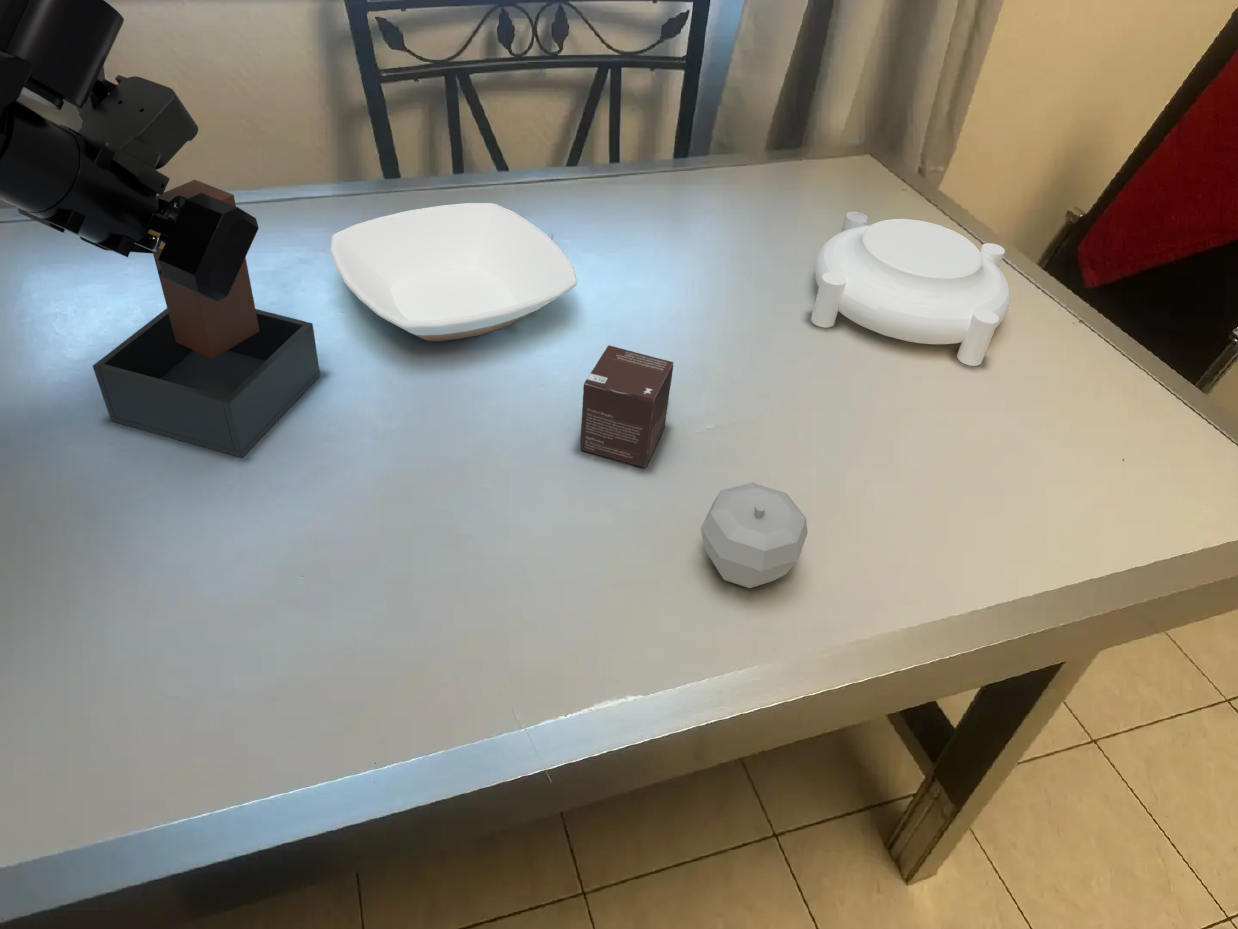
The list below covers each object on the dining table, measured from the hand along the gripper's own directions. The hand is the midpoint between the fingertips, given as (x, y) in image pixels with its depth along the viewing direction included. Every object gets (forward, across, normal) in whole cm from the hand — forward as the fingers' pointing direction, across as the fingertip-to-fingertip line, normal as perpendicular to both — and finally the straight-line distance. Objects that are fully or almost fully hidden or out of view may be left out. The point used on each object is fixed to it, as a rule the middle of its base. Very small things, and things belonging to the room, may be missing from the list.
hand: (215, 257), depth 74 cm
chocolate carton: (+4, 0, +6) cm, 7 cm away
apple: (+14, -45, +5) cm, 47 cm away
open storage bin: (+9, +2, +10) cm, 14 cm away
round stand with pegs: (+46, -44, -27) cm, 69 cm away
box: (+20, -30, 0) cm, 36 cm away
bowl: (+26, -5, -6) cm, 27 cm away
